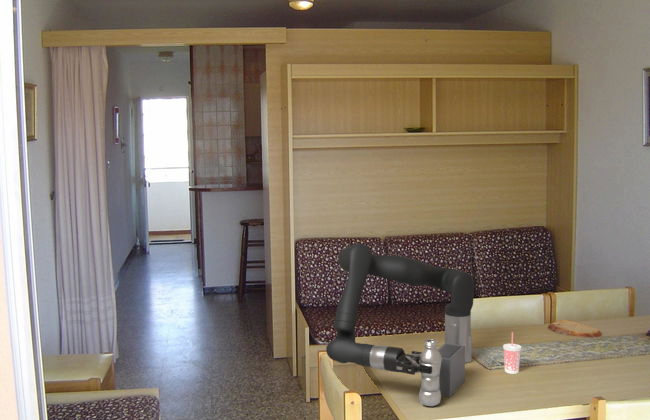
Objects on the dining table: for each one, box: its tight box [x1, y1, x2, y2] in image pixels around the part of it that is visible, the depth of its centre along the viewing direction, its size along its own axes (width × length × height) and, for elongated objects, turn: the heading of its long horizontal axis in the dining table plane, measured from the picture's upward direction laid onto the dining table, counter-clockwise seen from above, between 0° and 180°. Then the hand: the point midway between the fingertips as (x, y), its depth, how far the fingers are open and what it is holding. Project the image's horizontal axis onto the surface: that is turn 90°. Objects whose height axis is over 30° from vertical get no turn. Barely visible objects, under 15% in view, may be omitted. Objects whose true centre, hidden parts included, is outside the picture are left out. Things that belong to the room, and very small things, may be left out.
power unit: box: [437, 342, 466, 398], centre depth 217 cm, size 7×16×12 cm, turn 152°
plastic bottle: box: [418, 338, 442, 407], centre depth 202 cm, size 6×7×20 cm
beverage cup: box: [502, 331, 522, 375], centre depth 230 cm, size 6×6×14 cm
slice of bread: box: [547, 319, 602, 338], centre depth 278 cm, size 18×18×4 cm
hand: (436, 365), depth 201 cm, fingers open, 8 cm apart
